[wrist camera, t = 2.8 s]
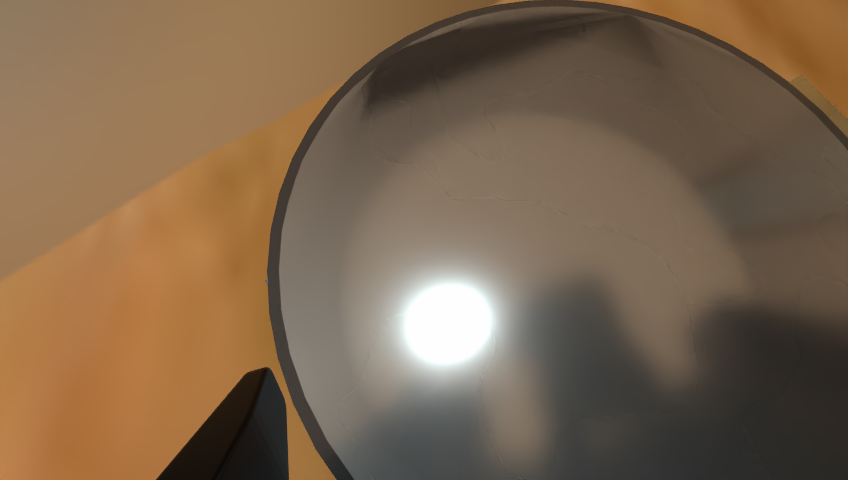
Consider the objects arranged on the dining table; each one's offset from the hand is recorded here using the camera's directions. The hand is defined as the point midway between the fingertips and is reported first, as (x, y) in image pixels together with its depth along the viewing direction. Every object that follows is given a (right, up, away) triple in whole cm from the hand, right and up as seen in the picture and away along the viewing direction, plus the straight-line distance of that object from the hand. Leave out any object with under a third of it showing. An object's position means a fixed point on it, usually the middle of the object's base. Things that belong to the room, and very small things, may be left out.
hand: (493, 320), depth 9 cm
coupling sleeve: (0, -3, +6) cm, 7 cm away
